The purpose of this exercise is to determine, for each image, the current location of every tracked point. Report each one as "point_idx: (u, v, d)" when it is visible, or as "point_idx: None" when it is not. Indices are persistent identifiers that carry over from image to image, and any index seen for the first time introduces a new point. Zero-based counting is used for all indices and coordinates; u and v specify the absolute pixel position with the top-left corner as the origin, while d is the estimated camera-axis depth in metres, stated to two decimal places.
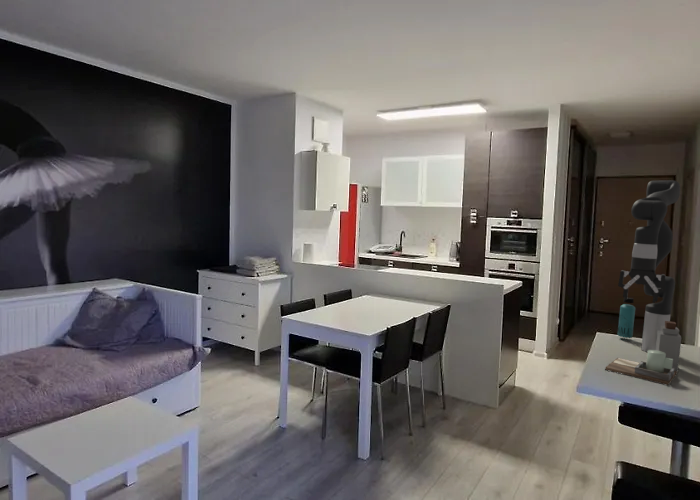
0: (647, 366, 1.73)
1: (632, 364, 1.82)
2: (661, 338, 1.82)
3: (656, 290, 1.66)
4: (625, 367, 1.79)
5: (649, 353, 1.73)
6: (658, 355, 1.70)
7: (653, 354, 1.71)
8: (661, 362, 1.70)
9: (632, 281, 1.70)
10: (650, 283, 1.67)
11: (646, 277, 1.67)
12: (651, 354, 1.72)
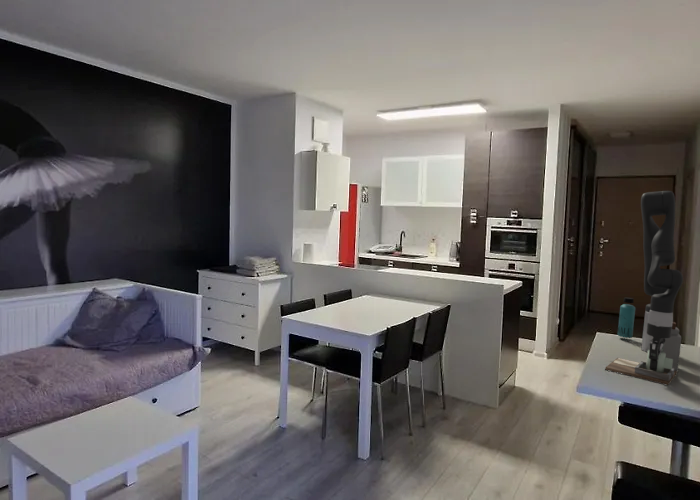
0: (647, 366, 1.73)
1: (632, 364, 1.82)
2: None
3: None
4: (625, 367, 1.79)
5: None
6: None
7: (653, 354, 1.71)
8: (661, 362, 1.70)
9: (661, 351, 1.70)
10: None
11: (664, 343, 1.72)
12: None
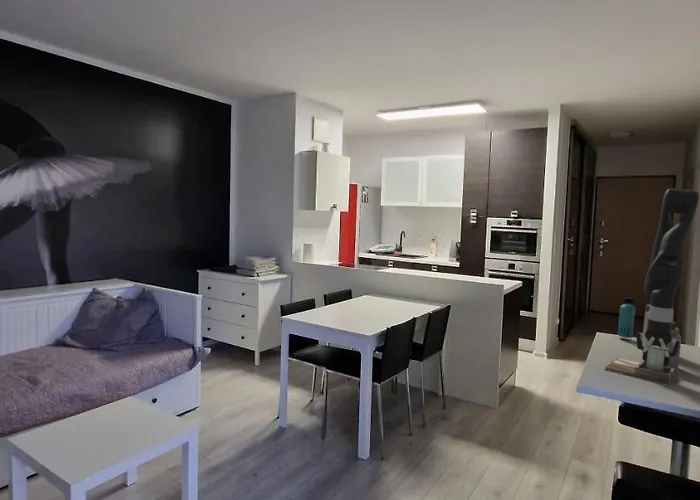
0: None
1: (632, 364, 1.82)
2: None
3: (667, 354, 1.70)
4: (625, 367, 1.79)
5: None
6: None
7: None
8: (649, 355, 1.73)
9: (649, 343, 1.73)
10: (665, 346, 1.70)
11: (661, 340, 1.70)
12: None
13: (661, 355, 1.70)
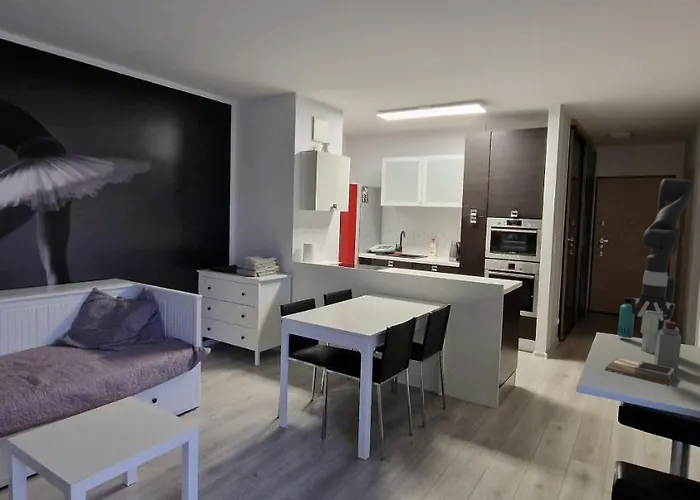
0: None
1: (632, 364, 1.82)
2: (661, 338, 1.82)
3: (661, 318, 1.72)
4: (625, 367, 1.79)
5: None
6: None
7: None
8: (644, 319, 1.75)
9: (643, 308, 1.75)
10: (659, 310, 1.72)
11: (655, 304, 1.73)
12: None
13: (656, 318, 1.73)
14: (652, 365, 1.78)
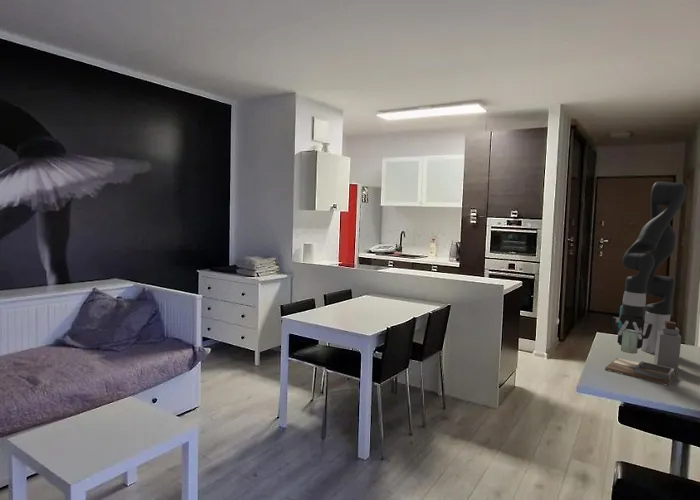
0: None
1: (632, 364, 1.82)
2: (661, 338, 1.82)
3: (640, 337, 1.80)
4: (625, 367, 1.79)
5: None
6: None
7: None
8: (623, 338, 1.82)
9: (623, 327, 1.83)
10: (638, 329, 1.79)
11: (634, 323, 1.80)
12: None
13: (635, 337, 1.80)
14: (652, 365, 1.78)
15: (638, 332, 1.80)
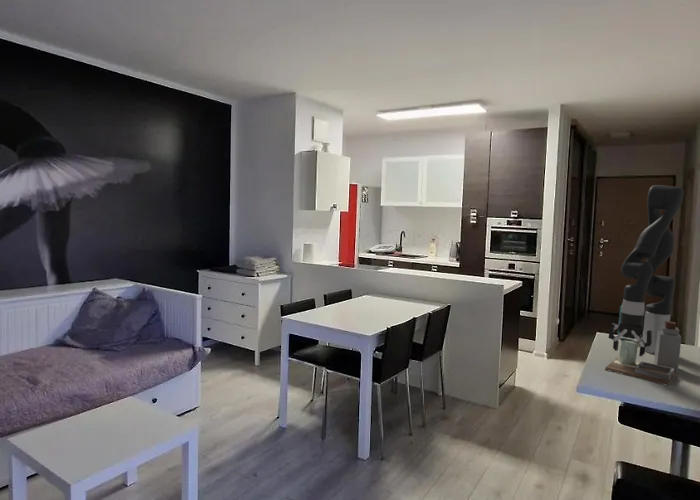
0: None
1: None
2: (661, 338, 1.82)
3: (642, 344, 1.79)
4: (625, 367, 1.79)
5: None
6: (621, 342, 1.84)
7: None
8: (622, 349, 1.83)
9: (620, 334, 1.84)
10: (637, 337, 1.80)
11: (633, 332, 1.80)
12: None
13: (633, 349, 1.81)
14: (652, 365, 1.78)
15: (639, 340, 1.80)
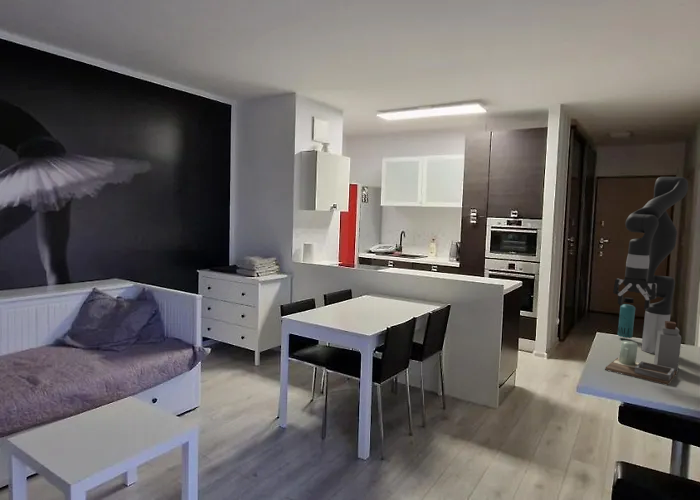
0: None
1: None
2: (661, 338, 1.82)
3: (647, 298, 1.79)
4: (625, 367, 1.79)
5: None
6: (621, 342, 1.84)
7: None
8: (622, 349, 1.83)
9: (625, 289, 1.83)
10: (641, 291, 1.80)
11: (638, 285, 1.80)
12: None
13: (633, 349, 1.81)
14: (652, 365, 1.78)
15: (644, 293, 1.79)
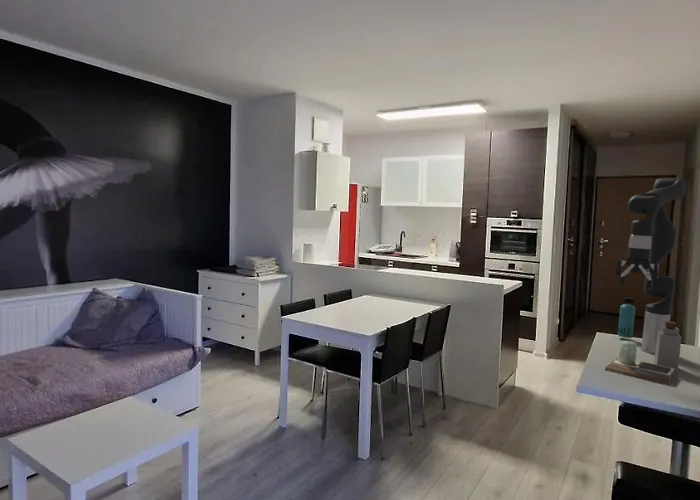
0: None
1: None
2: (661, 338, 1.82)
3: (649, 278, 1.81)
4: (625, 367, 1.79)
5: None
6: (620, 342, 1.84)
7: None
8: (621, 349, 1.83)
9: (628, 269, 1.86)
10: (644, 271, 1.82)
11: (640, 266, 1.83)
12: None
13: (633, 349, 1.81)
14: (652, 365, 1.78)
15: (646, 273, 1.82)
